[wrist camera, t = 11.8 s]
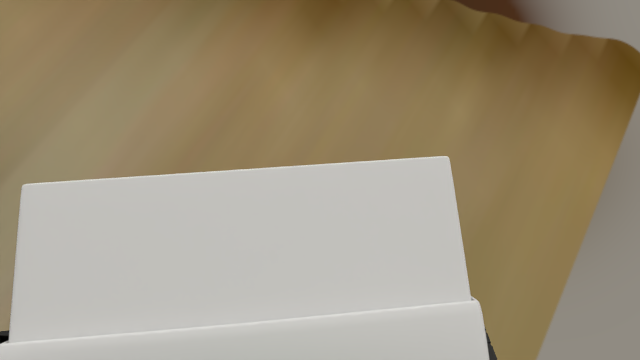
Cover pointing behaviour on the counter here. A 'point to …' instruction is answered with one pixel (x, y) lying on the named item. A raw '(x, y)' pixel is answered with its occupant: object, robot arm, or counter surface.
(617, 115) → the counter surface
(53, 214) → the soya milk
